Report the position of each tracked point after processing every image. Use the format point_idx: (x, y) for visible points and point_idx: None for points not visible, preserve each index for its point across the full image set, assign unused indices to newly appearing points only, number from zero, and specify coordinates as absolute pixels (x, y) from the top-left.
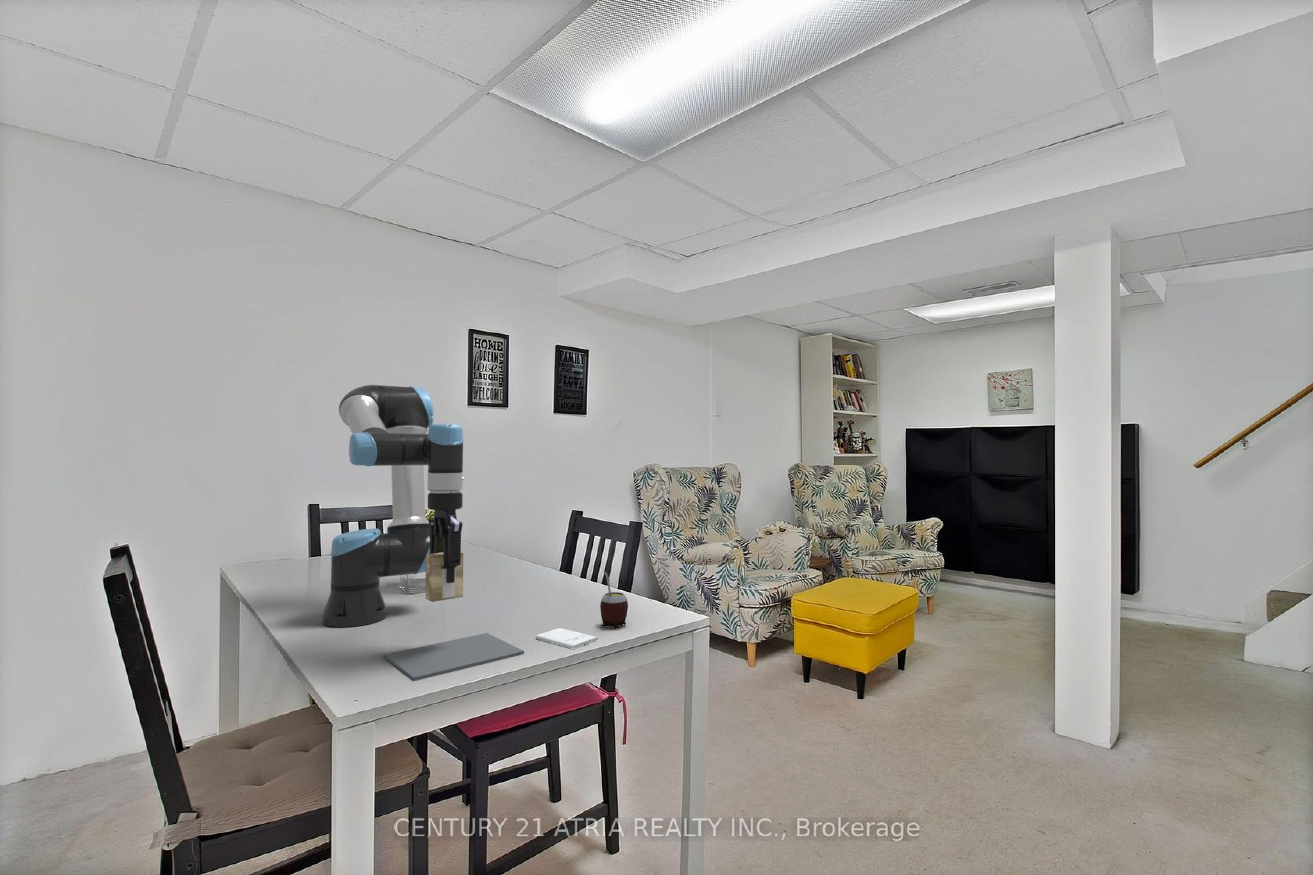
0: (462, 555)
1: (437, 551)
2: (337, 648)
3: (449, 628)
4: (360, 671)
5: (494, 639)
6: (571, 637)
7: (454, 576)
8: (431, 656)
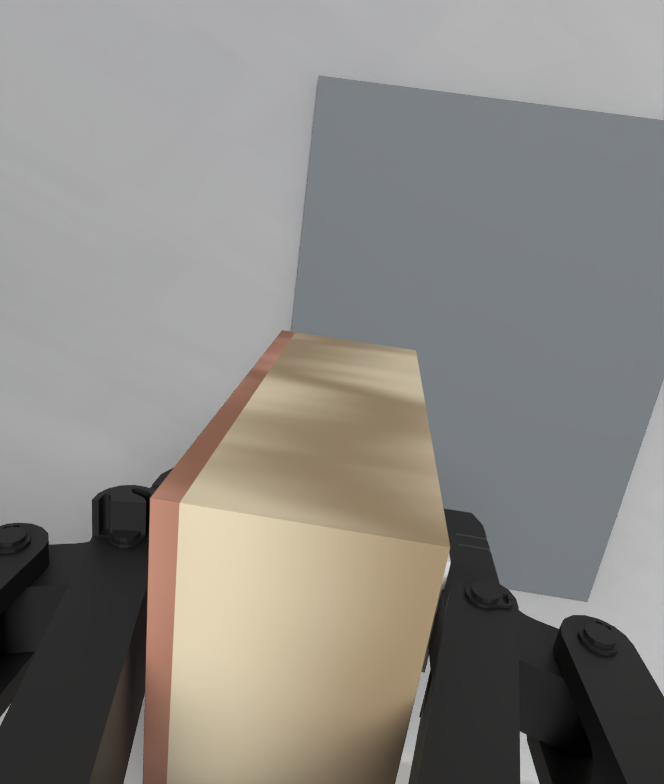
0: (441, 534)
1: (124, 749)
2: None
3: (64, 152)
4: None
5: (454, 121)
6: None
7: (487, 546)
8: (435, 457)
